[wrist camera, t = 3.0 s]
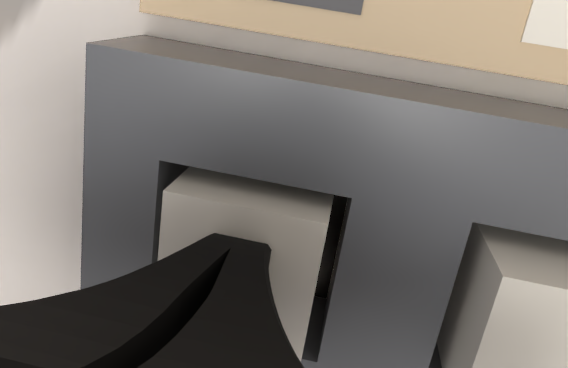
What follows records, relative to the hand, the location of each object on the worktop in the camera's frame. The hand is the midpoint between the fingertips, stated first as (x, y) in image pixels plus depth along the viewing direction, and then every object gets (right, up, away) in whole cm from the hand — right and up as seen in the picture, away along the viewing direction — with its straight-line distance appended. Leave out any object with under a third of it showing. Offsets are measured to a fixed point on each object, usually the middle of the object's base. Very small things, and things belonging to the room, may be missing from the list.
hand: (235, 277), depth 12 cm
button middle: (+7, -1, +1) cm, 7 cm away
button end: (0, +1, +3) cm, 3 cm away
